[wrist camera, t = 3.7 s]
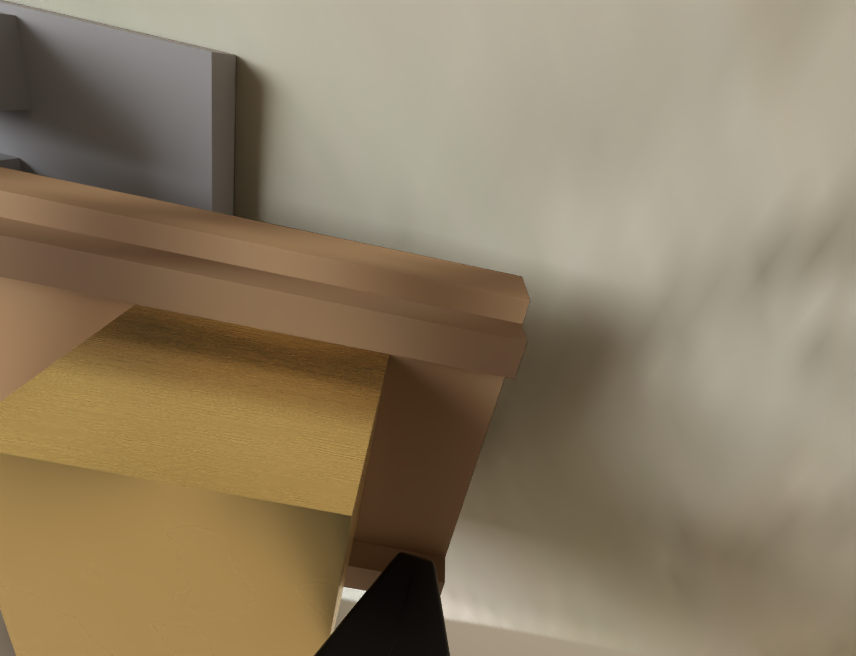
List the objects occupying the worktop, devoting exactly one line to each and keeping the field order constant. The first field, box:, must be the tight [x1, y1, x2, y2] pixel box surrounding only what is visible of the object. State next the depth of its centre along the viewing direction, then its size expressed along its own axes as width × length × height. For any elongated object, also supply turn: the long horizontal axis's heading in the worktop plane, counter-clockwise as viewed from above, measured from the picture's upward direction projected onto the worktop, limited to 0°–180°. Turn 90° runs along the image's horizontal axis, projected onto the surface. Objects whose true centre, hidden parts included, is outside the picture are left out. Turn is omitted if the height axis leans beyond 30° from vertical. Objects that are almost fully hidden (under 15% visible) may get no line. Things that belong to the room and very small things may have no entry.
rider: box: [0, 305, 389, 656], centre depth 9 cm, size 5×5×4 cm
